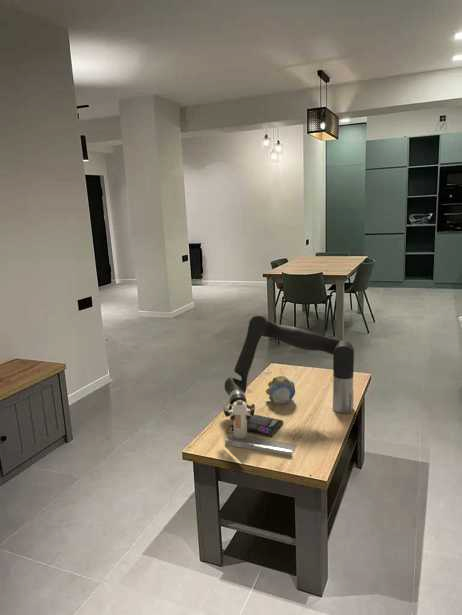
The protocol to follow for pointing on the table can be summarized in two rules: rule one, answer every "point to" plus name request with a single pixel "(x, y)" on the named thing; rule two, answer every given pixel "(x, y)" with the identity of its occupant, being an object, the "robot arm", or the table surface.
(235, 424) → the cream bottle
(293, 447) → the shelf board
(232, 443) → the rail
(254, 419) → the box
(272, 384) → the decorative rock
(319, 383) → the table surface
